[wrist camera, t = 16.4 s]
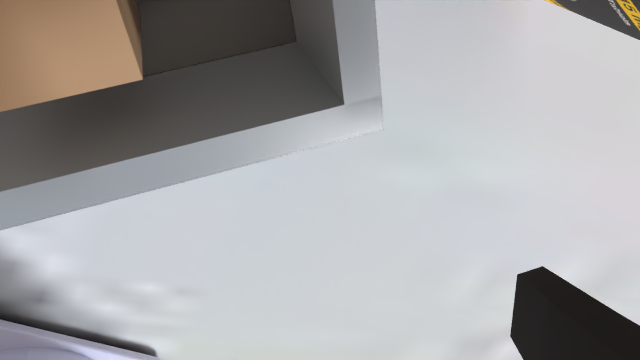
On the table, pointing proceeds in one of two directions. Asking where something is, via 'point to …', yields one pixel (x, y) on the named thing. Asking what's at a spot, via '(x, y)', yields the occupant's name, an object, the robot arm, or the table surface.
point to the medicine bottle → (608, 13)
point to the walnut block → (66, 48)
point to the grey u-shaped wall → (195, 118)
